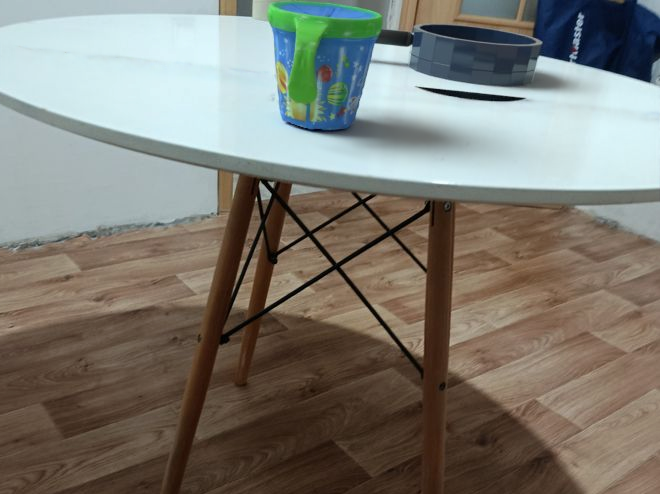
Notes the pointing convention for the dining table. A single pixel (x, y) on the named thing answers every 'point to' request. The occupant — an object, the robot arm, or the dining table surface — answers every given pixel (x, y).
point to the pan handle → (395, 38)
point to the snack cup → (321, 60)
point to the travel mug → (263, 8)
